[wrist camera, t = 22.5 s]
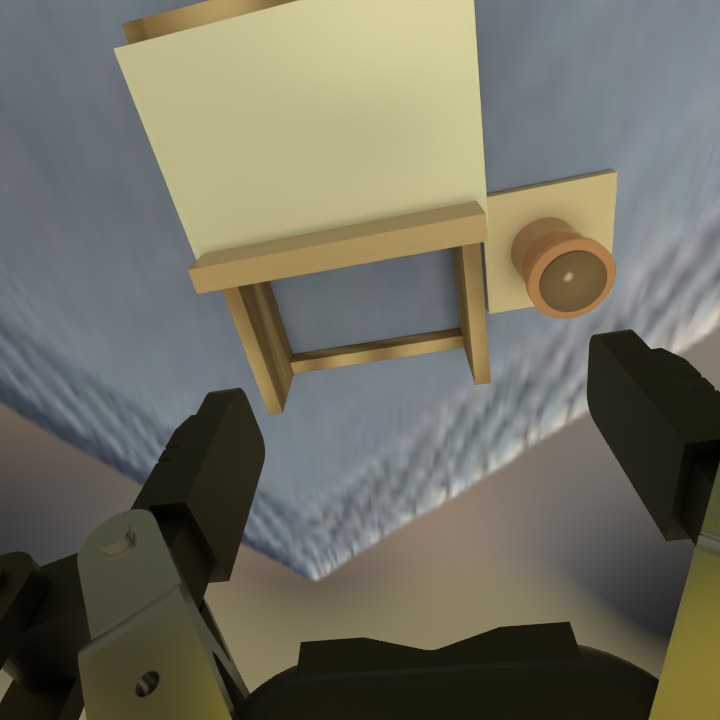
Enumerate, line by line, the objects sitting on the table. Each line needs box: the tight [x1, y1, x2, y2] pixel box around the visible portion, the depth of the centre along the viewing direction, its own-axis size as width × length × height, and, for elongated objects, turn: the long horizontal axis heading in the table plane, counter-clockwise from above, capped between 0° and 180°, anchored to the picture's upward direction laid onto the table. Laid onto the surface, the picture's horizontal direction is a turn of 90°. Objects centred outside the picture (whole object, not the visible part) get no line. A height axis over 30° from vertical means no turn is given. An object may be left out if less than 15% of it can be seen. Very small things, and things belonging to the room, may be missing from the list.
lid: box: [114, 0, 488, 294], centre depth 27 cm, size 19×13×4 cm
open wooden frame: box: [122, 0, 491, 414], centre depth 35 cm, size 18×28×8 cm, turn 11°
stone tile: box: [482, 170, 618, 314], centre depth 39 cm, size 10×10×1 cm
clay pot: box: [511, 217, 616, 318], centre depth 36 cm, size 6×6×7 cm
